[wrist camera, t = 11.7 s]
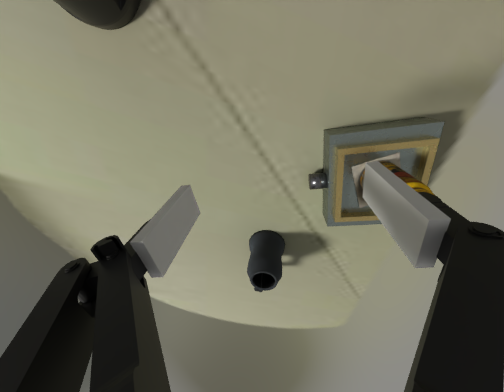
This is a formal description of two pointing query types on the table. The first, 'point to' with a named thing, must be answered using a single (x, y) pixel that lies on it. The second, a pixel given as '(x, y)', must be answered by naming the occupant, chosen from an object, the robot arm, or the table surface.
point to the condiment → (394, 166)
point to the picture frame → (367, 149)
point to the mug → (265, 259)
